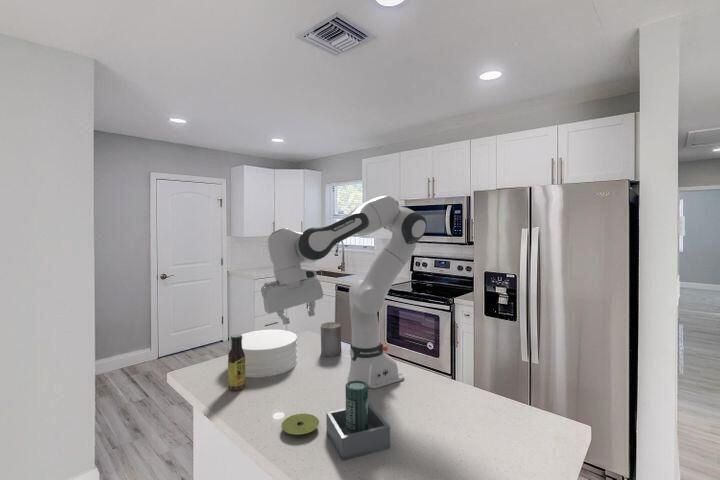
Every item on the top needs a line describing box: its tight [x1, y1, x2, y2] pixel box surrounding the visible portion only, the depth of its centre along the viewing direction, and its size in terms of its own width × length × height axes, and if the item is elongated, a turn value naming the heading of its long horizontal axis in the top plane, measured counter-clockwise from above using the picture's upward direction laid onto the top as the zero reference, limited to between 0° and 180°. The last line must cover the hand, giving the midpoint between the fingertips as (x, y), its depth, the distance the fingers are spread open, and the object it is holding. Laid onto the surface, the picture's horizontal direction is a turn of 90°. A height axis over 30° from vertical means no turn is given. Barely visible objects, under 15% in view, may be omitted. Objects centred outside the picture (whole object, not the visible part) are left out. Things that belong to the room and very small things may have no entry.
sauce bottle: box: [227, 334, 246, 391], centre depth 135 cm, size 7×6×20 cm
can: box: [345, 380, 369, 435], centre depth 102 cm, size 6×6×15 cm
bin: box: [325, 402, 391, 462], centre depth 102 cm, size 14×14×6 cm
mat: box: [281, 413, 320, 436], centre depth 108 cm, size 11×11×2 cm
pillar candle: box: [320, 321, 342, 357], centre depth 171 cm, size 10×10×15 cm
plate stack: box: [241, 329, 298, 378], centre depth 158 cm, size 28×28×12 cm
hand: (299, 319), depth 115 cm, fingers open, 8 cm apart
